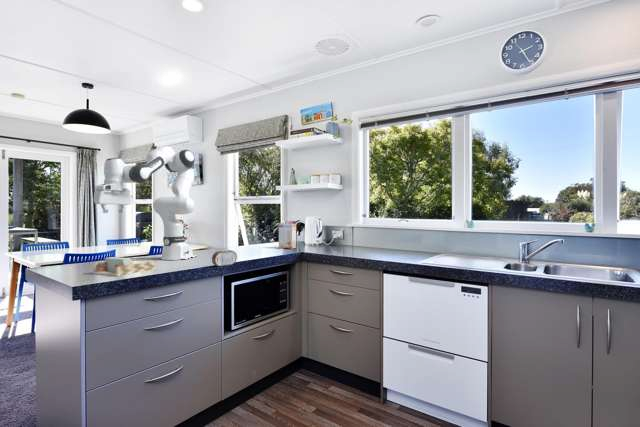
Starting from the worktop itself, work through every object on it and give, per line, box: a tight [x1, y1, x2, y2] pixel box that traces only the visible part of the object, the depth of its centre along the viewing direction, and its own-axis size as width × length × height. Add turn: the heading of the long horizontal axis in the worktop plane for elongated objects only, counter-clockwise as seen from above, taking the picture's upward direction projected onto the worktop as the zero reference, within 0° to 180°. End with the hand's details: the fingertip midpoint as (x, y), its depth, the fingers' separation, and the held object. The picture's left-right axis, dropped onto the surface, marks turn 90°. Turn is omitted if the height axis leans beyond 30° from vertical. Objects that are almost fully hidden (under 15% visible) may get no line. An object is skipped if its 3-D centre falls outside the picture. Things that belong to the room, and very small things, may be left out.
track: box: [92, 259, 156, 277], centre depth 170 cm, size 22×16×5 cm
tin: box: [211, 249, 238, 267], centre depth 191 cm, size 15×3×8 cm, turn 141°
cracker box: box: [278, 222, 297, 249], centre depth 281 cm, size 14×6×21 cm, turn 58°
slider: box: [104, 256, 132, 271], centre depth 166 cm, size 4×12×6 cm, turn 71°
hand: (113, 212), depth 186 cm, fingers open, 8 cm apart
